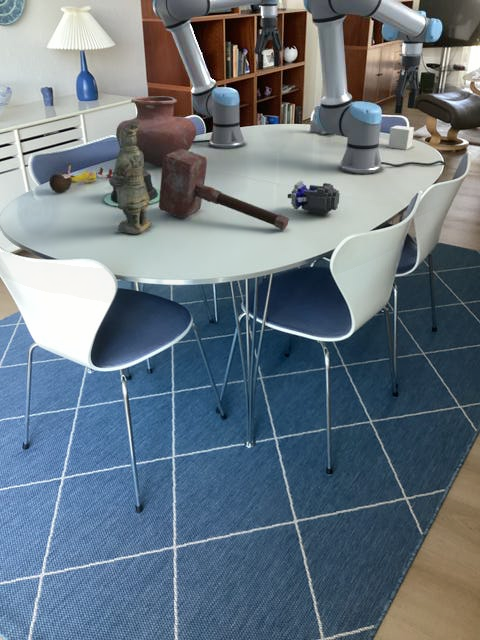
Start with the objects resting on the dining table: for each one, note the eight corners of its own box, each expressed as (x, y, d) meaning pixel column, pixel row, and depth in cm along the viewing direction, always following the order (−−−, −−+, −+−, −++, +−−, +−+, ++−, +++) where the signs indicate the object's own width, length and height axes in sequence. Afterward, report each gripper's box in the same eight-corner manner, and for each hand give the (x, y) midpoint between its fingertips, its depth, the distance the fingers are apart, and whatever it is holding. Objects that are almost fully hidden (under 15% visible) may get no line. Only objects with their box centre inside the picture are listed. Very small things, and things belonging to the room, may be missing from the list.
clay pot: (204, 155, 234) (201, 91, 222) (186, 175, 209) (181, 105, 196) (136, 153, 239) (129, 91, 227) (109, 172, 214) (100, 104, 201)
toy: (295, 178, 172) (342, 184, 166) (295, 205, 177) (340, 211, 171) (285, 186, 166) (333, 192, 160) (284, 213, 170) (331, 220, 164)
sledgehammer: (299, 190, 156) (179, 147, 167) (285, 200, 148) (161, 154, 160) (286, 244, 166) (174, 200, 177) (272, 256, 158) (156, 209, 170)
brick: (393, 144, 244) (395, 125, 240) (411, 146, 240) (414, 127, 236) (388, 147, 240) (390, 127, 236) (406, 149, 236) (409, 129, 232)
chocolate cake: (91, 202, 180) (113, 186, 197) (142, 231, 182) (160, 212, 199) (107, 162, 172) (129, 148, 190) (160, 192, 174) (177, 176, 192)
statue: (131, 220, 168) (117, 116, 152) (158, 224, 164) (147, 118, 149) (109, 233, 159) (93, 124, 144) (138, 237, 156) (124, 126, 140)
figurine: (118, 166, 204) (64, 174, 185) (119, 186, 207) (65, 196, 188) (93, 161, 211) (38, 168, 191) (95, 181, 214) (40, 190, 195)
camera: (318, 104, 267) (345, 108, 259) (317, 129, 274) (342, 134, 265) (308, 106, 262) (334, 110, 253) (306, 132, 268) (332, 137, 259)
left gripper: (276, 15, 261) (276, 65, 272) (246, 18, 244) (246, 70, 255) (290, 15, 257) (289, 65, 268) (260, 18, 240) (260, 71, 251)
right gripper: (413, 51, 232) (407, 105, 243) (389, 57, 215) (384, 115, 226) (431, 52, 229) (424, 106, 239) (408, 58, 211) (401, 116, 222)
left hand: (268, 68), depth 261 cm, fingers open, 13 cm apart
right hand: (404, 110), depth 233 cm, fingers open, 13 cm apart
